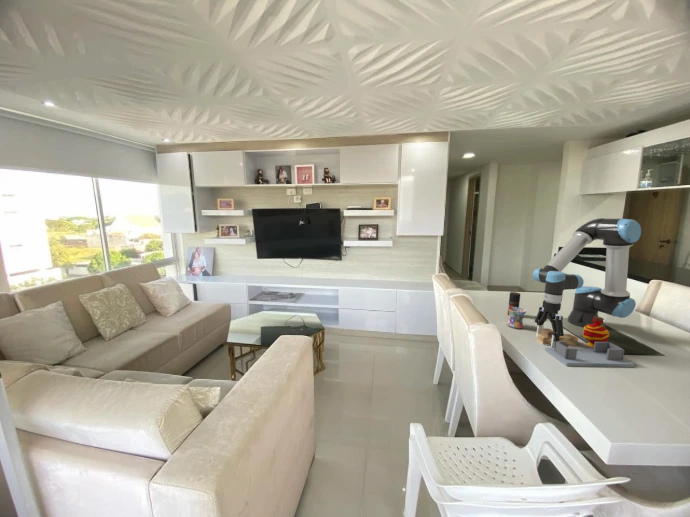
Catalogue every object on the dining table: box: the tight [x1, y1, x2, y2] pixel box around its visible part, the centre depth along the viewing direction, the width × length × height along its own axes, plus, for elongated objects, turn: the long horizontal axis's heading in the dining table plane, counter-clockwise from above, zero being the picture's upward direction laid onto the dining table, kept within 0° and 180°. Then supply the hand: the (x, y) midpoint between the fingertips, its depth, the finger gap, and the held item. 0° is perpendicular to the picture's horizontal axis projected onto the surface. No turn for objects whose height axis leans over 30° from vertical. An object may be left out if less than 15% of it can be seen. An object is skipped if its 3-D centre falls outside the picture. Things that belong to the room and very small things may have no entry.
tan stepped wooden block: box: [536, 328, 579, 346], centre depth 145 cm, size 18×4×7 cm, turn 90°
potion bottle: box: [582, 316, 610, 348], centre depth 141 cm, size 10×10×15 cm
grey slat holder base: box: [544, 341, 634, 368], centre depth 129 cm, size 29×14×6 cm, turn 89°
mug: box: [506, 307, 527, 329], centre depth 165 cm, size 12×9×11 cm
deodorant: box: [507, 291, 521, 316], centre depth 182 cm, size 6×6×15 cm
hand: (546, 341), depth 145 cm, fingers open, 10 cm apart
